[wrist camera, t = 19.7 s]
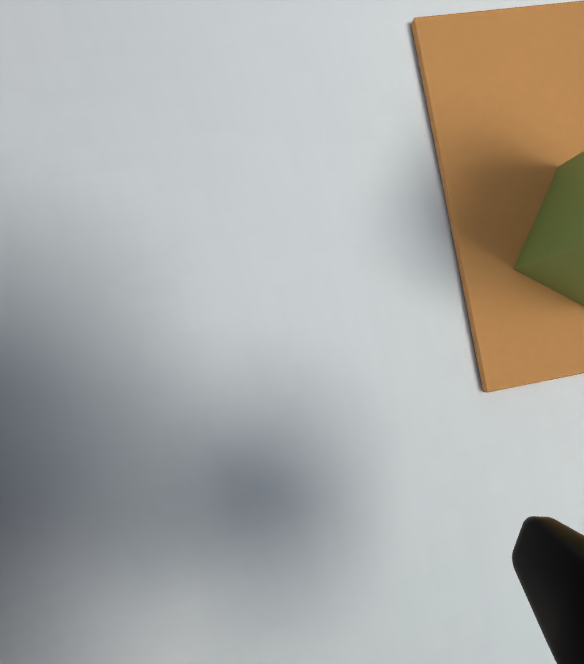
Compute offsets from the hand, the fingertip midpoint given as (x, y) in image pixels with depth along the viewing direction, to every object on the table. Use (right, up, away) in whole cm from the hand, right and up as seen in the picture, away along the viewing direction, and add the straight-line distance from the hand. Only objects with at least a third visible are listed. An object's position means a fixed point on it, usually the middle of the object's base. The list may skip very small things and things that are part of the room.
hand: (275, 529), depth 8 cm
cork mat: (+13, +10, +13) cm, 20 cm away
